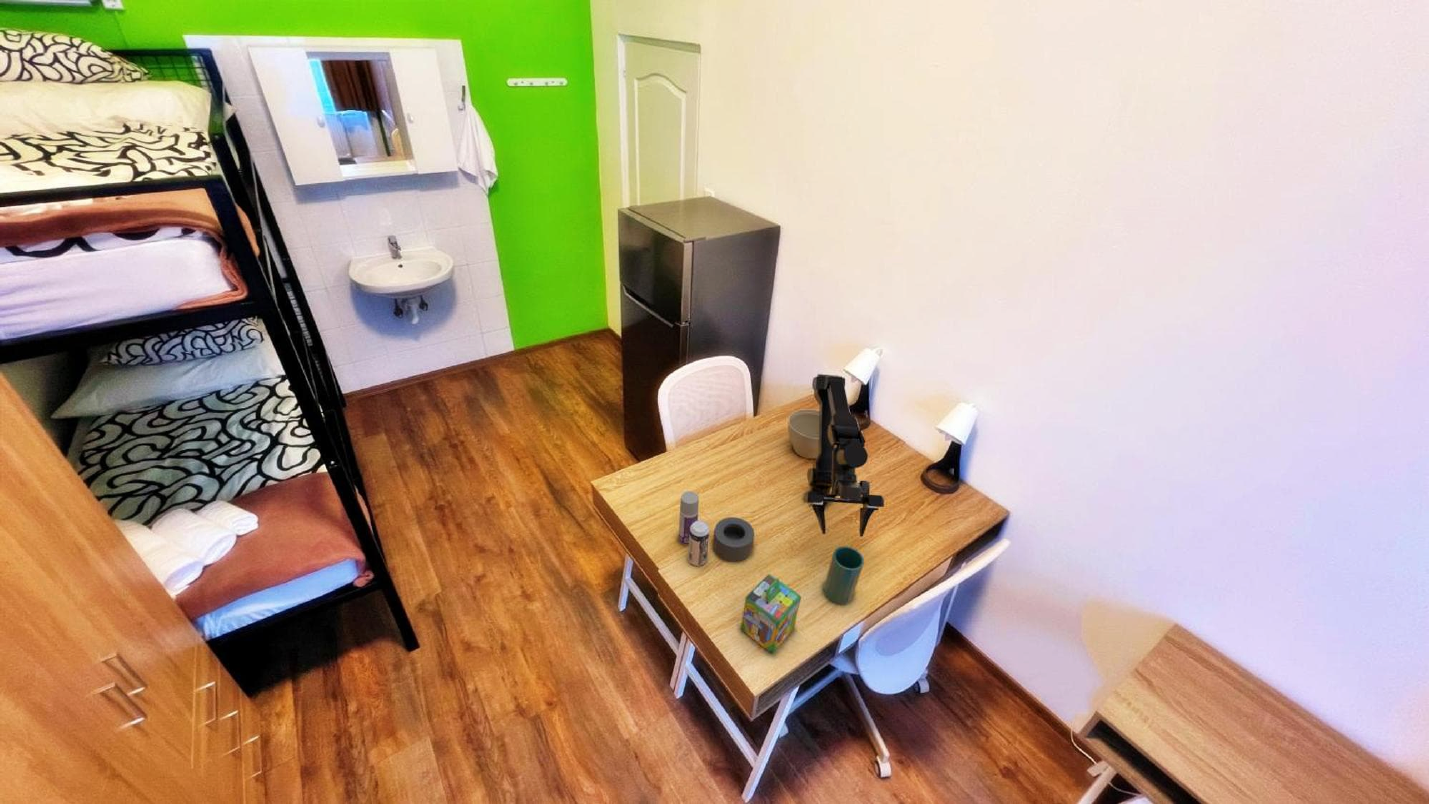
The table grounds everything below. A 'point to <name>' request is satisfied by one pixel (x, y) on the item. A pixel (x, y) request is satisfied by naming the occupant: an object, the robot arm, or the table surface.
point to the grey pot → (733, 539)
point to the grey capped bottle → (698, 542)
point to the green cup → (843, 574)
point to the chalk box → (770, 612)
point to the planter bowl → (804, 432)
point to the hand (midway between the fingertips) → (842, 535)
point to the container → (687, 515)
